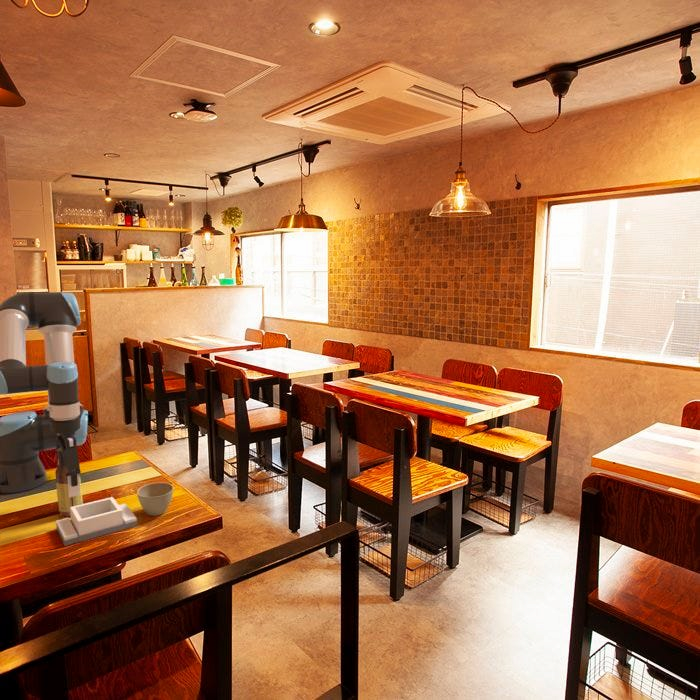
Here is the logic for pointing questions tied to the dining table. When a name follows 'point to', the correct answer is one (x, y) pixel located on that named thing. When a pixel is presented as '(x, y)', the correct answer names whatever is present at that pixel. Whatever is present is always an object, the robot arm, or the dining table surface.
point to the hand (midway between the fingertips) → (69, 487)
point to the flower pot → (155, 497)
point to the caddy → (95, 520)
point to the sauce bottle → (65, 487)
